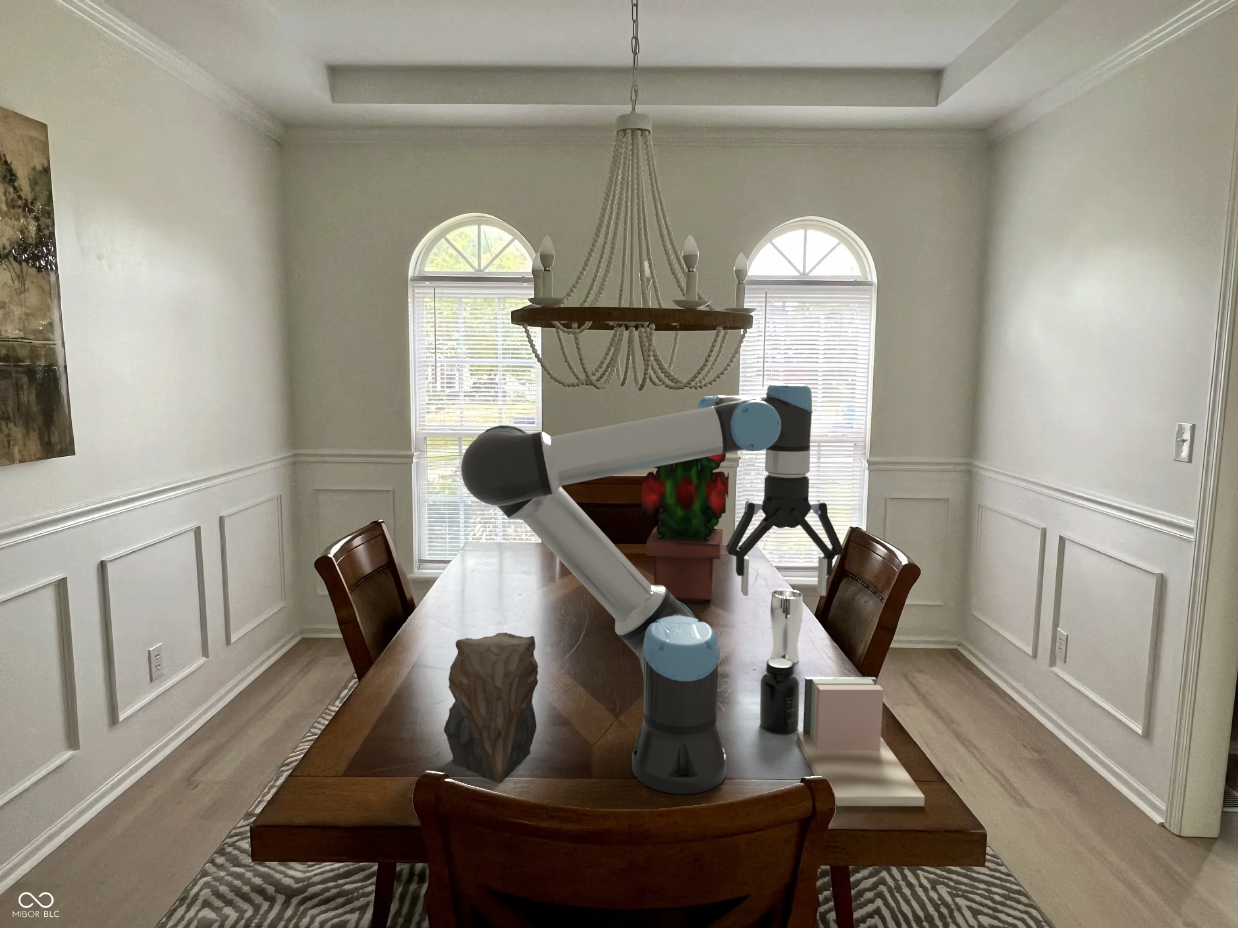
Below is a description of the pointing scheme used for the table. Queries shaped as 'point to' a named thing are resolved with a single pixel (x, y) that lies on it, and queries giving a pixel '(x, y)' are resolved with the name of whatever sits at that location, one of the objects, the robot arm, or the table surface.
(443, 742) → the table surface
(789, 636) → the beer glass
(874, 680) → the bookend
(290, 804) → the table surface
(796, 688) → the supplement bottle
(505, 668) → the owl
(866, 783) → the shelf board
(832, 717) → the book row
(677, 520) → the potted plant
